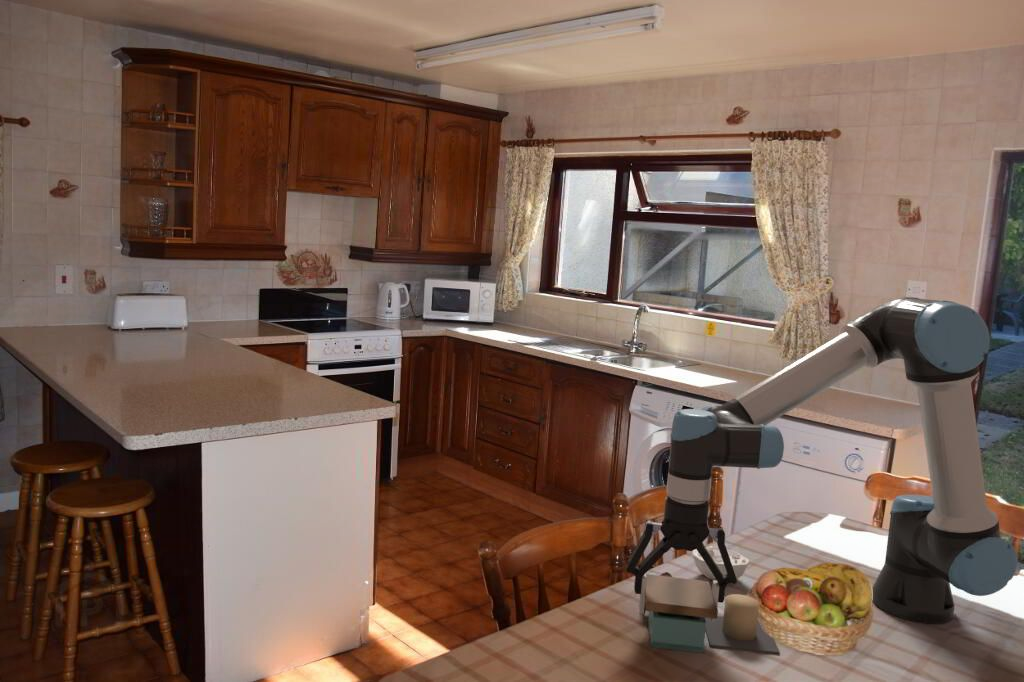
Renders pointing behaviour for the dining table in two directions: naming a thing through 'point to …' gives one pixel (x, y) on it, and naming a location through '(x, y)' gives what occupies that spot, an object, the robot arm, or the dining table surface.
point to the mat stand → (740, 627)
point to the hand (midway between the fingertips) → (676, 614)
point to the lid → (680, 596)
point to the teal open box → (676, 631)
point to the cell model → (721, 562)
